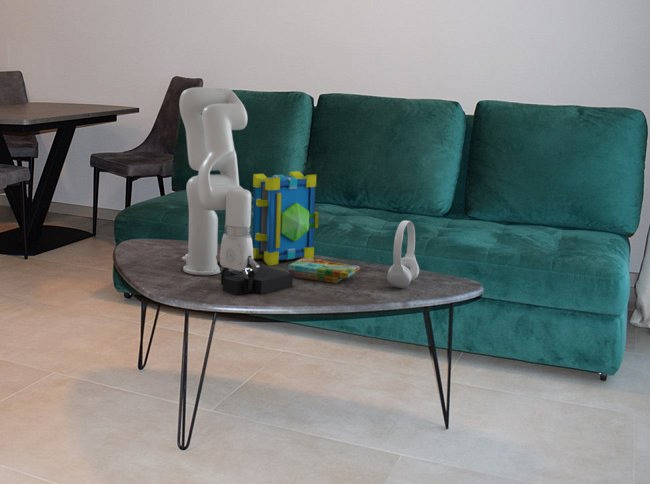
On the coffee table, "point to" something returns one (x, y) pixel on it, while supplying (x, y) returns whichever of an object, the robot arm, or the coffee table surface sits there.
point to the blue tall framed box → (284, 217)
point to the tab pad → (236, 283)
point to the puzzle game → (321, 270)
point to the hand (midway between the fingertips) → (236, 287)
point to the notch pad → (269, 280)
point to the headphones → (407, 265)
